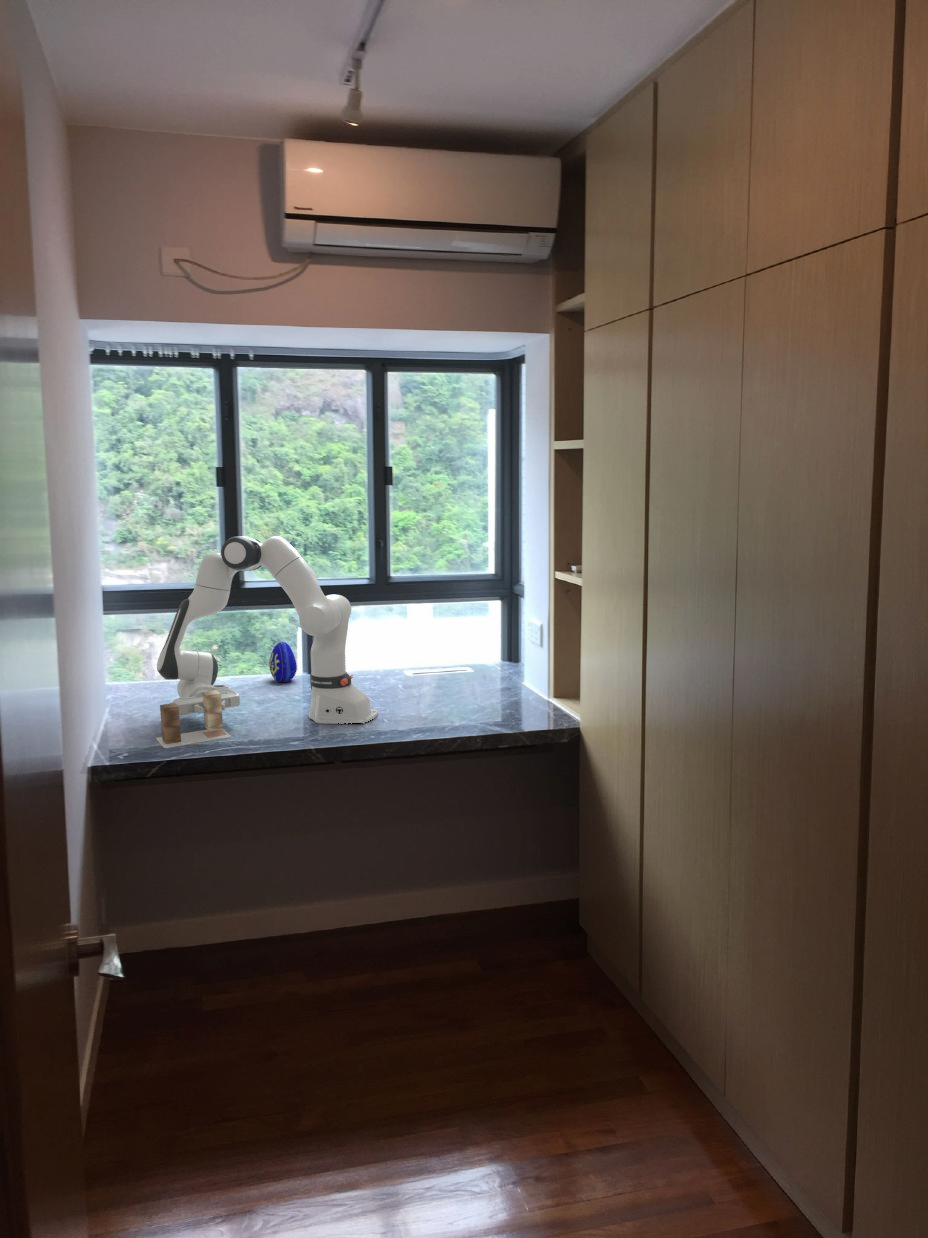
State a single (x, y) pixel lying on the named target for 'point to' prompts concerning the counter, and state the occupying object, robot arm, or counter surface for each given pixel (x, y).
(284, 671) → the ornament
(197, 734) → the white mat
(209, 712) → the birch pillar
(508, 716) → the counter surface
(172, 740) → the walnut pillar
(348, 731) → the counter surface
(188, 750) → the counter surface
